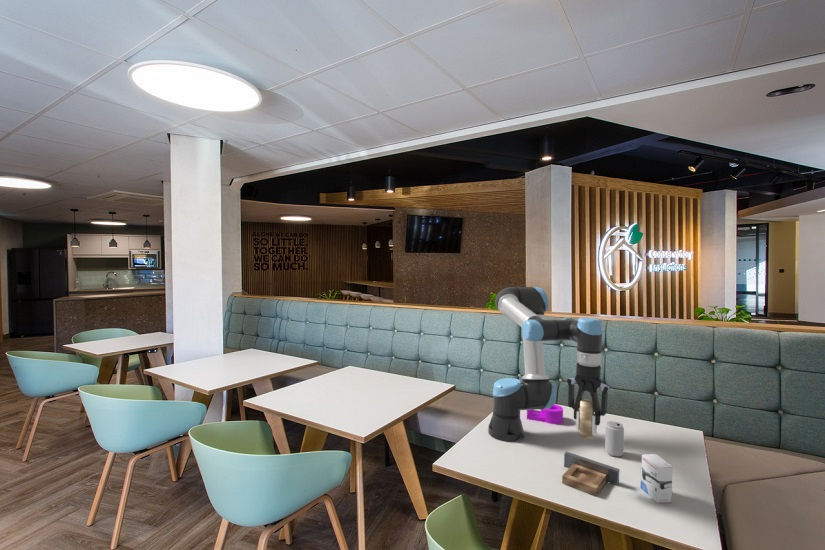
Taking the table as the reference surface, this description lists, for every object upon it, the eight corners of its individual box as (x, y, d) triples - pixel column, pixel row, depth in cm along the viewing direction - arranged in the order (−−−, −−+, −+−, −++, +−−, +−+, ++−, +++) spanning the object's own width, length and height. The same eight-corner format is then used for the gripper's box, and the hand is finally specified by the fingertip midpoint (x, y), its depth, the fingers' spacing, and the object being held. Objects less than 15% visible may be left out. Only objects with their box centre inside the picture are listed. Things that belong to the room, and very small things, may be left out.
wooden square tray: (562, 482, 133) (562, 475, 133) (573, 469, 142) (573, 463, 141) (596, 496, 126) (596, 488, 126) (606, 481, 134) (606, 474, 134)
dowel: (577, 436, 133) (578, 401, 133) (581, 431, 136) (582, 398, 136) (590, 440, 130) (592, 404, 130) (595, 435, 133) (596, 401, 133)
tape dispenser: (562, 418, 189) (563, 405, 188) (562, 426, 180) (562, 412, 179) (528, 412, 195) (529, 400, 194) (526, 420, 186) (526, 407, 185)
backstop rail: (564, 466, 144) (564, 453, 144) (566, 464, 146) (566, 451, 145) (617, 485, 132) (617, 471, 132) (618, 483, 134) (619, 469, 134)
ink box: (639, 487, 132) (640, 453, 131) (653, 487, 132) (654, 453, 131) (657, 503, 123) (658, 467, 123) (672, 502, 123) (673, 466, 123)
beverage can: (625, 458, 151) (626, 428, 150) (607, 456, 152) (608, 426, 151) (620, 450, 157) (621, 421, 156) (602, 448, 158) (603, 419, 158)
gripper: (558, 361, 135) (556, 427, 136) (613, 371, 124) (611, 443, 125) (566, 357, 141) (564, 420, 142) (619, 366, 129) (617, 435, 130)
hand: (586, 431), depth 133 cm, fingers closed on dowel, 4 cm apart
